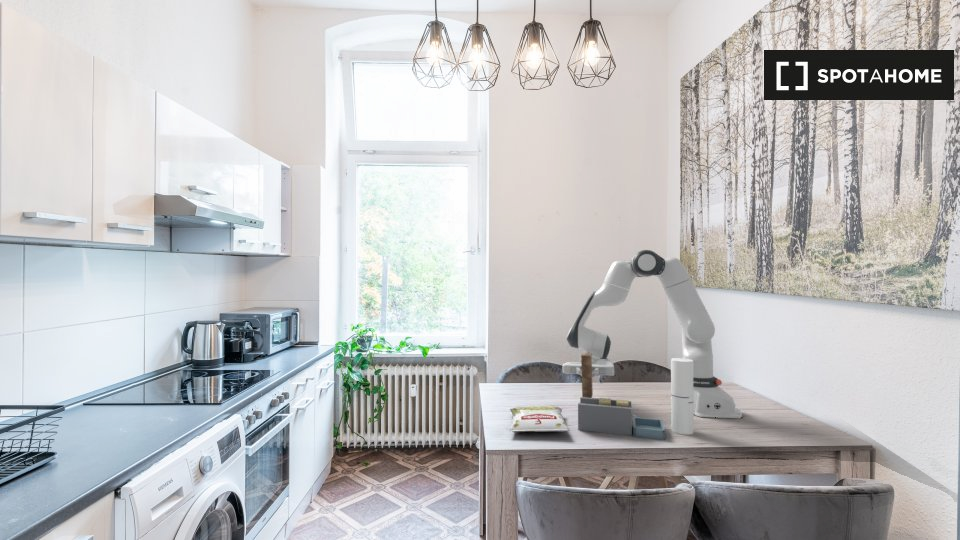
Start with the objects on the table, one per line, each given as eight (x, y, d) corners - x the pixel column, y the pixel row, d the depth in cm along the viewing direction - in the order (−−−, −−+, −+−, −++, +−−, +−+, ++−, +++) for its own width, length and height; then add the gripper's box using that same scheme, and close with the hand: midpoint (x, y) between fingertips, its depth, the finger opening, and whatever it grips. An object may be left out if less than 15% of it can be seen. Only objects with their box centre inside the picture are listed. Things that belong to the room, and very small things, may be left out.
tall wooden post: (592, 394, 174) (591, 353, 174) (591, 397, 169) (590, 355, 170) (583, 393, 175) (582, 353, 175) (582, 397, 170) (581, 355, 171)
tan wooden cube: (628, 411, 159) (628, 400, 159) (628, 414, 155) (628, 403, 155) (616, 410, 160) (616, 399, 160) (616, 413, 156) (616, 402, 157)
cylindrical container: (668, 427, 160) (667, 357, 160) (688, 427, 160) (687, 357, 160) (676, 434, 153) (675, 361, 153) (697, 434, 153) (696, 361, 153)
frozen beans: (562, 400, 173) (571, 421, 148) (563, 415, 173) (571, 438, 148) (509, 401, 175) (508, 422, 150) (509, 416, 175) (509, 439, 150)
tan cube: (610, 409, 161) (610, 398, 161) (610, 413, 157) (610, 401, 157) (599, 408, 162) (599, 397, 162) (598, 412, 158) (598, 400, 158)
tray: (662, 428, 159) (662, 419, 159) (665, 439, 148) (665, 430, 148) (632, 425, 162) (632, 416, 162) (633, 436, 151) (633, 427, 151)
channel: (631, 425, 162) (631, 401, 162) (631, 435, 152) (631, 408, 152) (580, 420, 167) (580, 396, 167) (578, 429, 158) (578, 404, 158)
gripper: (563, 357, 188) (559, 363, 175) (614, 359, 182) (613, 365, 169) (564, 372, 188) (559, 379, 175) (614, 374, 182) (614, 382, 168)
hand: (586, 372), depth 172 cm, fingers closed on tall wooden post, 3 cm apart
